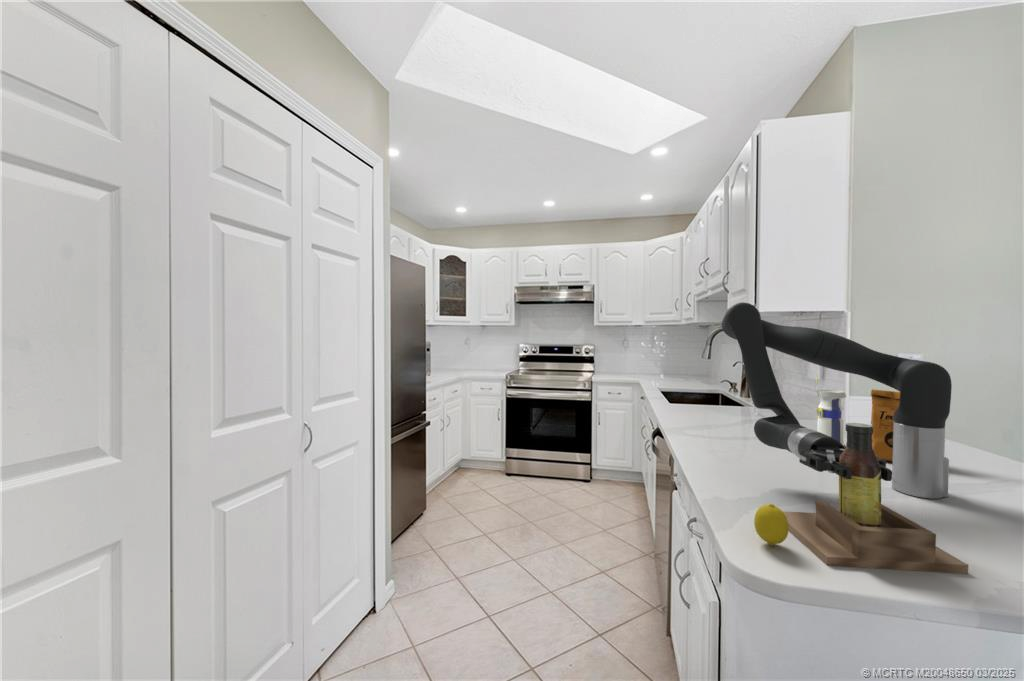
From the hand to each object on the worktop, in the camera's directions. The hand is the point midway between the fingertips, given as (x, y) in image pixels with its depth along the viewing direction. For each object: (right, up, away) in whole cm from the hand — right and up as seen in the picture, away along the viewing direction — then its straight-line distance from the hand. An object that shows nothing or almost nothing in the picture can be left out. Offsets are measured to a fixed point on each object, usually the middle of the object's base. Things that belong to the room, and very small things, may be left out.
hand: (869, 475), depth 76 cm
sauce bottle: (0, -11, +3) cm, 11 cm away
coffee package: (+53, -13, +51) cm, 75 cm away
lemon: (-17, -14, +2) cm, 22 cm away
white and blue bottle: (+46, -12, +68) cm, 83 cm away
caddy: (+1, -14, +3) cm, 14 cm away
